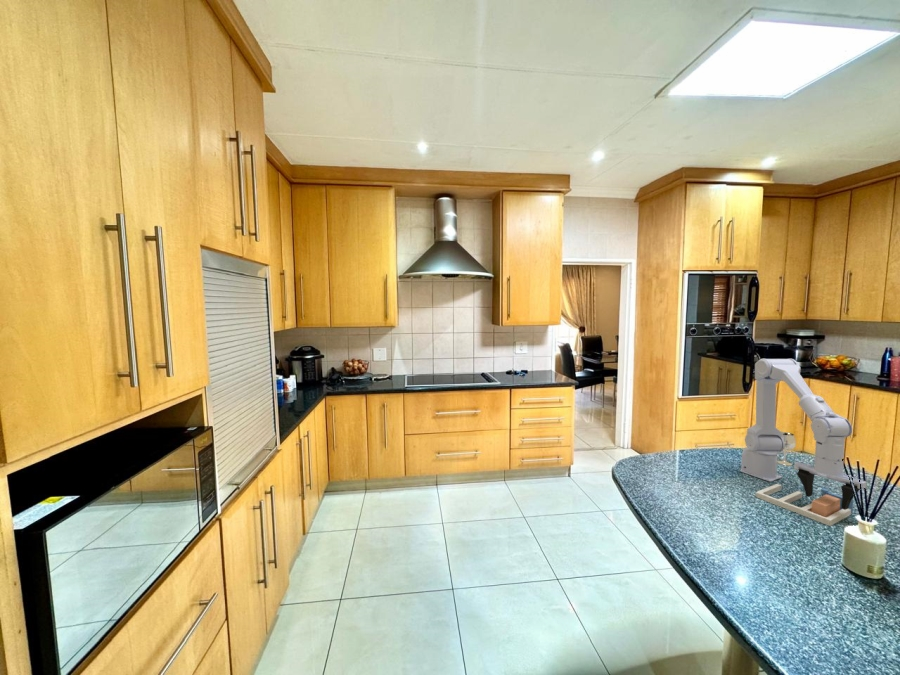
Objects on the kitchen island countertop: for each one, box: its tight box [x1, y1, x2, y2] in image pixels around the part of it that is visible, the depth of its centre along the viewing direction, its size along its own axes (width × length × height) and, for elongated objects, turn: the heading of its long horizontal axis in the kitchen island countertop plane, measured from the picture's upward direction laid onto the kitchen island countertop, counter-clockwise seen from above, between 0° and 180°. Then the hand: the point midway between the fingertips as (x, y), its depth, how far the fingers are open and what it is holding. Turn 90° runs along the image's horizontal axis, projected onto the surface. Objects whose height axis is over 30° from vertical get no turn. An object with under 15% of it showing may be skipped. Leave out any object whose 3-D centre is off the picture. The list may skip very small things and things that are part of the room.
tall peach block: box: [811, 494, 840, 517], centre depth 104 cm, size 3×9×4 cm, turn 114°
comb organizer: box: [755, 483, 852, 527], centre depth 109 cm, size 17×13×2 cm
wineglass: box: [777, 431, 797, 467], centre depth 138 cm, size 6×6×12 cm
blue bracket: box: [820, 487, 854, 515], centre depth 106 cm, size 6×2×5 cm, turn 24°
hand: (826, 501), depth 104 cm, fingers open, 7 cm apart
